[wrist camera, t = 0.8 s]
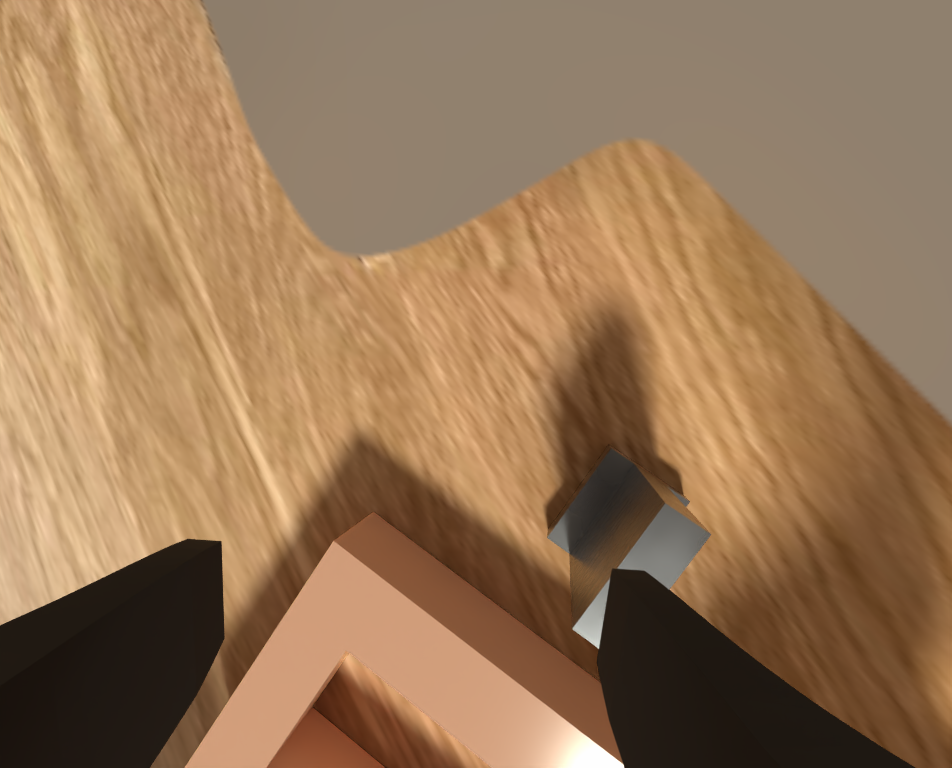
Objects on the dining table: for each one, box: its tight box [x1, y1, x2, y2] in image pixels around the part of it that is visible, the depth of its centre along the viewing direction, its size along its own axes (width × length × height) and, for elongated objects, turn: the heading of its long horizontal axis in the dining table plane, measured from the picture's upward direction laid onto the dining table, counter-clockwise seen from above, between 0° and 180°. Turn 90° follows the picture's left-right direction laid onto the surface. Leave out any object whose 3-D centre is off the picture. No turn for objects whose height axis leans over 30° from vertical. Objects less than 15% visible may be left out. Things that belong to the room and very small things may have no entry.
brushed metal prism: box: [547, 445, 711, 649], centre depth 20 cm, size 4×5×8 cm
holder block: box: [185, 512, 624, 768], centre depth 23 cm, size 18×14×4 cm
